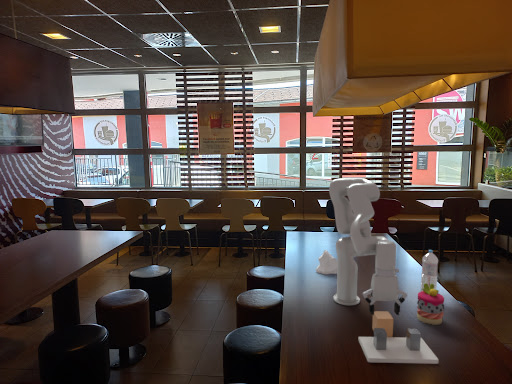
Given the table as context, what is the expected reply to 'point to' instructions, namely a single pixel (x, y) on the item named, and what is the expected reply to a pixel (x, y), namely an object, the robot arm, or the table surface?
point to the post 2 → (413, 339)
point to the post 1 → (380, 339)
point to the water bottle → (429, 270)
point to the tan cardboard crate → (383, 322)
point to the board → (397, 351)
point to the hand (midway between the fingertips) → (384, 313)
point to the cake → (430, 305)
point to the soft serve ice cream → (327, 264)
